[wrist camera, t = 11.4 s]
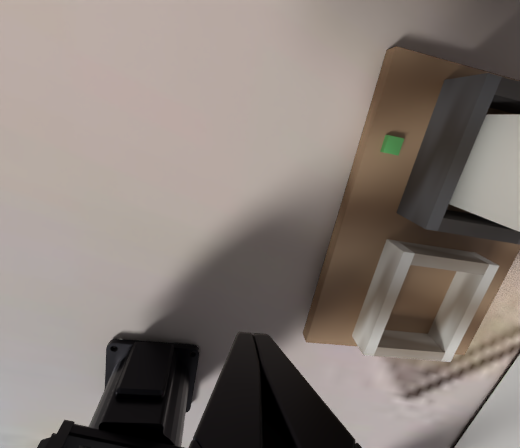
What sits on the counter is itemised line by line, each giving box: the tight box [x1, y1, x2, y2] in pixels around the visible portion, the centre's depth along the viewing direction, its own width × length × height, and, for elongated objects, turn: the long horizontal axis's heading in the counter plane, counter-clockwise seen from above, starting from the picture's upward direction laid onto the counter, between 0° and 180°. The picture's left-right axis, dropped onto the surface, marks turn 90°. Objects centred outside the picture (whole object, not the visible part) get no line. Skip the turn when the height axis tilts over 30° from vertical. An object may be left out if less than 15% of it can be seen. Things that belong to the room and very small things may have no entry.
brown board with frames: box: [303, 46, 520, 362], centre depth 19 cm, size 20×14×4 cm
